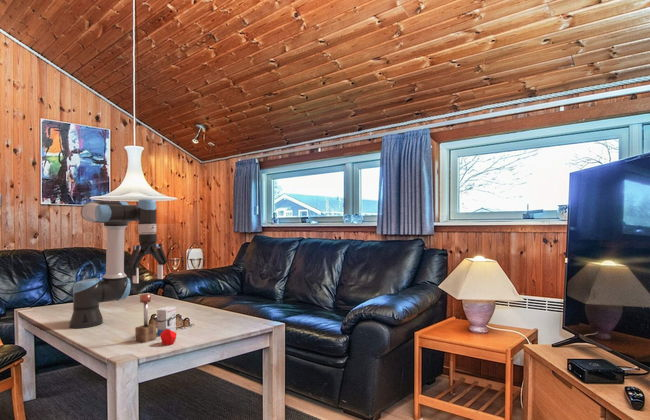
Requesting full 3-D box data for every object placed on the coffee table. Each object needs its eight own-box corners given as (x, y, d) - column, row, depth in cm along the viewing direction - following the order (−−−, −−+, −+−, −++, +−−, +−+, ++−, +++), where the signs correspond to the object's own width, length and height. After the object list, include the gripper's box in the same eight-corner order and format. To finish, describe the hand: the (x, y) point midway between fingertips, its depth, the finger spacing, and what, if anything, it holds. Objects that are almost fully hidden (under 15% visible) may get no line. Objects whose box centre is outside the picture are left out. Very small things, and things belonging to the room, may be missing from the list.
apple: (179, 331, 176) (172, 322, 182) (162, 337, 172) (156, 327, 178) (180, 344, 179) (174, 334, 185) (164, 351, 175) (158, 340, 181)
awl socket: (135, 341, 183) (135, 327, 183) (146, 337, 188) (146, 324, 188) (145, 342, 180) (145, 328, 180) (156, 338, 186) (156, 325, 186)
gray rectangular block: (174, 329, 202) (174, 328, 202) (188, 324, 212) (188, 323, 212) (180, 329, 201) (180, 329, 201) (194, 324, 210) (194, 324, 210)
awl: (138, 329, 183) (137, 295, 184) (146, 327, 187) (145, 293, 188) (145, 330, 182) (145, 295, 182) (153, 327, 186) (152, 294, 186)
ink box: (166, 335, 191) (165, 309, 191) (156, 335, 192) (156, 309, 192) (176, 330, 199) (176, 306, 200) (167, 330, 200) (167, 305, 201)
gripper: (130, 234, 174) (130, 285, 174) (174, 232, 197) (175, 277, 196) (117, 234, 177) (118, 284, 177) (163, 232, 200) (163, 277, 199)
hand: (148, 281), depth 186 cm, fingers open, 13 cm apart
